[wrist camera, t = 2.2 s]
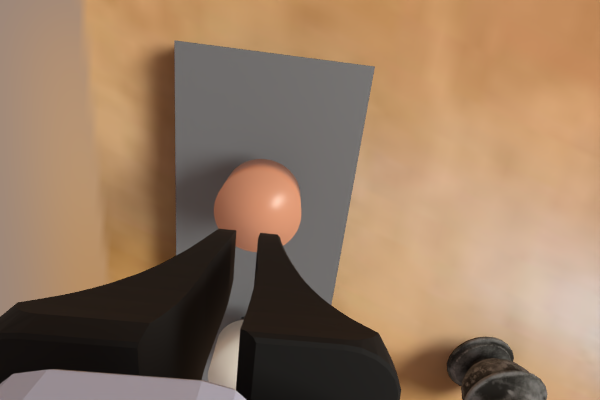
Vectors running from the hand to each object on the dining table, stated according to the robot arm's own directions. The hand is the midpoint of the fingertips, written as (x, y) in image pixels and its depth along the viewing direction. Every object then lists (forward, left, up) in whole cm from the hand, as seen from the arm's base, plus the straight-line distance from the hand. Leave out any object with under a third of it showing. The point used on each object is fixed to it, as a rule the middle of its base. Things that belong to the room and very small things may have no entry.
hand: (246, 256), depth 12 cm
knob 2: (0, 0, -8) cm, 8 cm away
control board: (-4, -3, -10) cm, 12 cm away
